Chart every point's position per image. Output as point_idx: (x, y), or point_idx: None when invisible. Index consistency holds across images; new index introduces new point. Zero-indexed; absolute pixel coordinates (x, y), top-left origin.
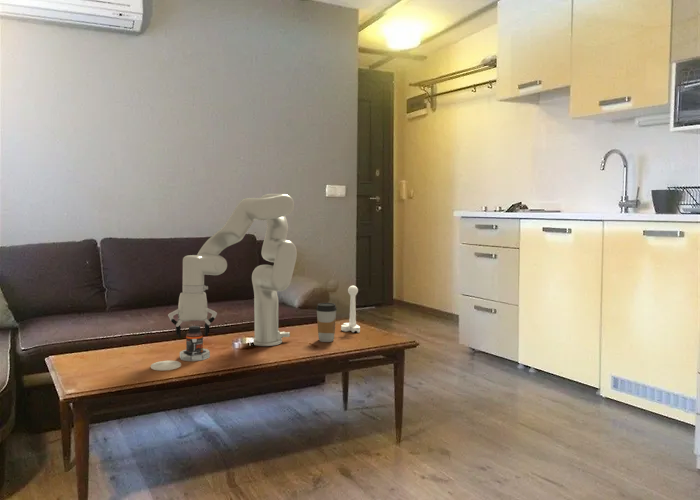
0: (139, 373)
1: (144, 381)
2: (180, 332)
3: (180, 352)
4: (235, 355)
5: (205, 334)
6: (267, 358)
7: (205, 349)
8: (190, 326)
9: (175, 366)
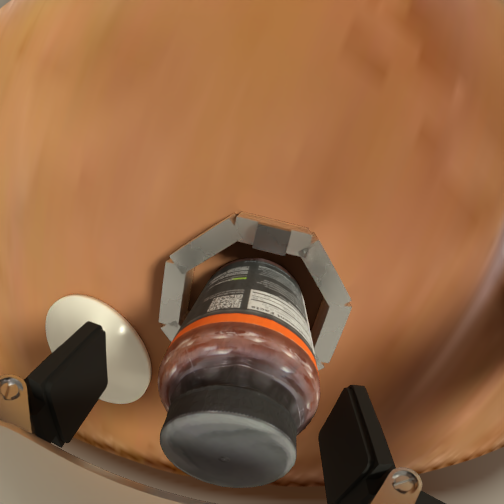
0: (29, 357)
1: None
2: (88, 410)
3: (166, 277)
4: (427, 373)
5: (324, 432)
6: (455, 437)
7: (336, 303)
8: (185, 425)
9: (123, 398)
